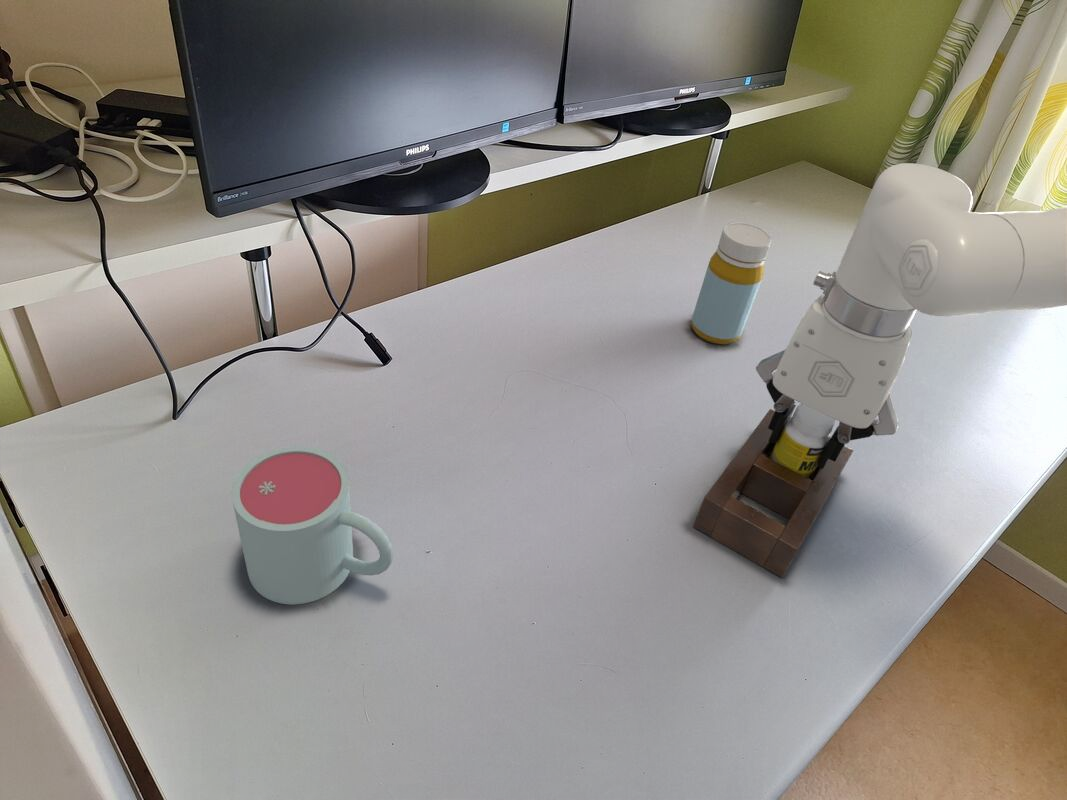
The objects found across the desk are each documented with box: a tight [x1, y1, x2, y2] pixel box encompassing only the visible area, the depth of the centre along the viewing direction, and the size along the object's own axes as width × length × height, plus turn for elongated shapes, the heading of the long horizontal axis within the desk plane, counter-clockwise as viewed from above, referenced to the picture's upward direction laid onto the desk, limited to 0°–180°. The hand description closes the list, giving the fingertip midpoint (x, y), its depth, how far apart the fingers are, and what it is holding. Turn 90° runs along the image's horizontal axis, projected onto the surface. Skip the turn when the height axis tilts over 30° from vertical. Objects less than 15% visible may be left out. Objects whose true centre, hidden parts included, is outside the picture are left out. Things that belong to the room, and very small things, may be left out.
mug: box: [231, 445, 394, 605], centre depth 65 cm, size 14×9×10 cm
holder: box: [692, 408, 854, 578], centre depth 80 cm, size 10×18×4 cm, turn 145°
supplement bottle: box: [768, 403, 836, 480], centre depth 80 cm, size 5×5×8 cm
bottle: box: [690, 221, 773, 345], centre depth 100 cm, size 7×7×15 cm
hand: (800, 446), depth 80 cm, fingers closed on supplement bottle, 4 cm apart
